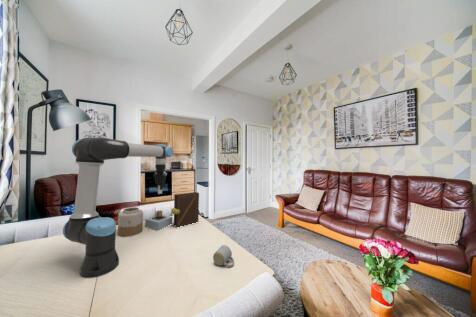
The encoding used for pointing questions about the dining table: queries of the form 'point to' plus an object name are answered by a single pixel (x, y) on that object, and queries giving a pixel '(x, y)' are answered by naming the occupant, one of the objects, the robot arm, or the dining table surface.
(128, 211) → the vase
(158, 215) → the dowel
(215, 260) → the ceramic mug
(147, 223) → the socket block
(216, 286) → the dining table surface
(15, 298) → the dining table surface
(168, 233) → the dining table surface
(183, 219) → the book
